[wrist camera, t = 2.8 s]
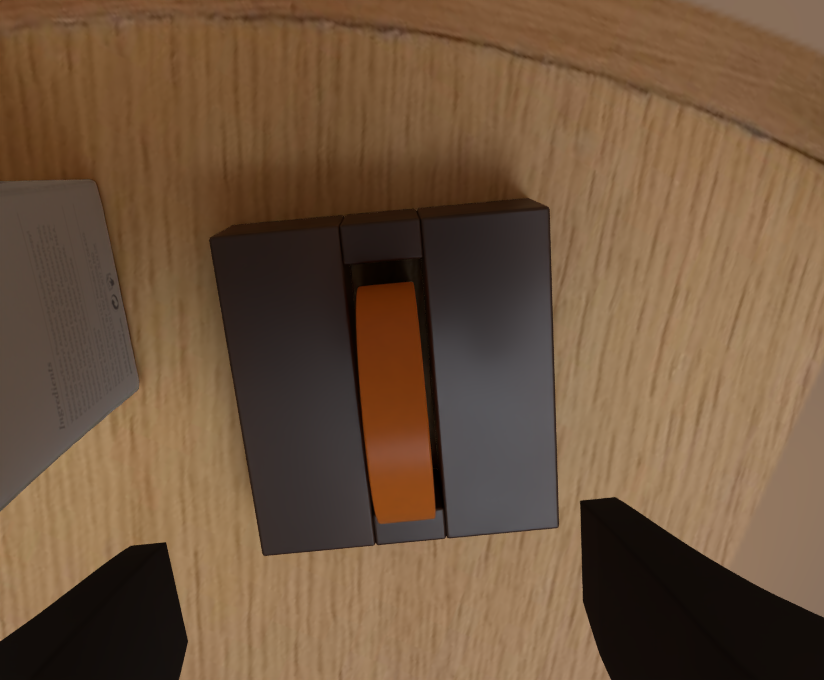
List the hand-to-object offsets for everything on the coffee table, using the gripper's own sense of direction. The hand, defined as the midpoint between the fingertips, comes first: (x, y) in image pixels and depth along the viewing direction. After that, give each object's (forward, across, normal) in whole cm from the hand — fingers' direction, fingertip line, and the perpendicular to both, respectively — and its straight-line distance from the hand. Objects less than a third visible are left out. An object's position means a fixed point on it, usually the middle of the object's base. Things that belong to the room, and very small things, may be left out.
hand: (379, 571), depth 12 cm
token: (+9, 0, -1) cm, 9 cm away
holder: (+9, 0, -1) cm, 9 cm away
